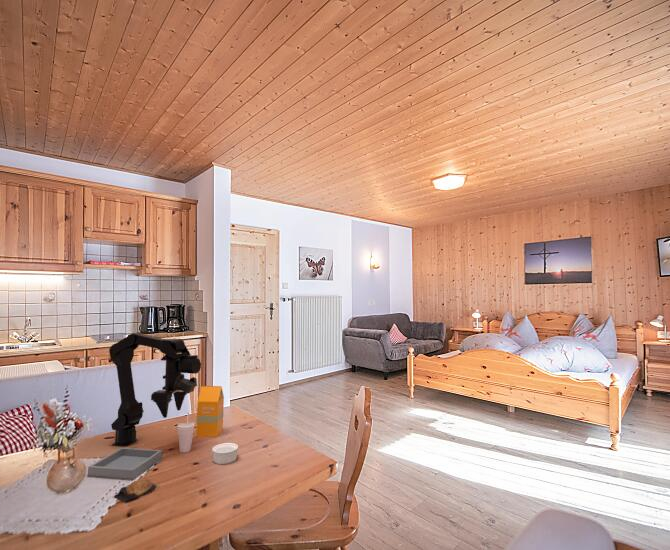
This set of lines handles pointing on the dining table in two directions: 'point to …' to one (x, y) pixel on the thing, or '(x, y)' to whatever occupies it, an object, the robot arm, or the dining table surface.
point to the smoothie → (185, 435)
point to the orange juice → (210, 411)
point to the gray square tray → (125, 463)
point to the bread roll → (136, 490)
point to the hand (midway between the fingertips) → (172, 413)
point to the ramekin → (224, 453)
